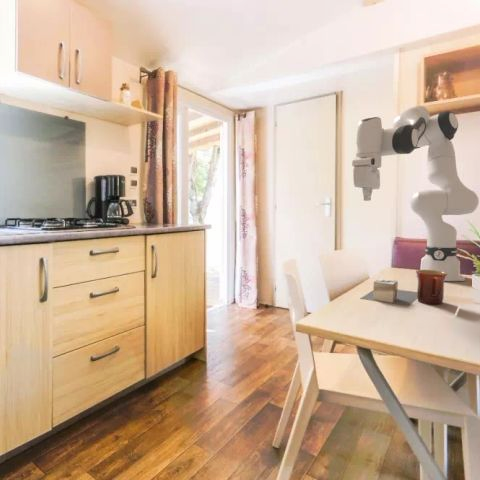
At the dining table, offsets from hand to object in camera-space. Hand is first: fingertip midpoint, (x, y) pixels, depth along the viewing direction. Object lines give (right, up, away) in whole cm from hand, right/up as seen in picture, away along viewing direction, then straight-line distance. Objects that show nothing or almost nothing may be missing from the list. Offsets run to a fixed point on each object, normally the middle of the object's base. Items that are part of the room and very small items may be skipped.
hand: (367, 200), depth 127 cm
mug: (+14, -35, -18) cm, 42 cm away
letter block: (+1, -28, -14) cm, 31 cm away
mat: (+5, -34, -9) cm, 36 cm away
